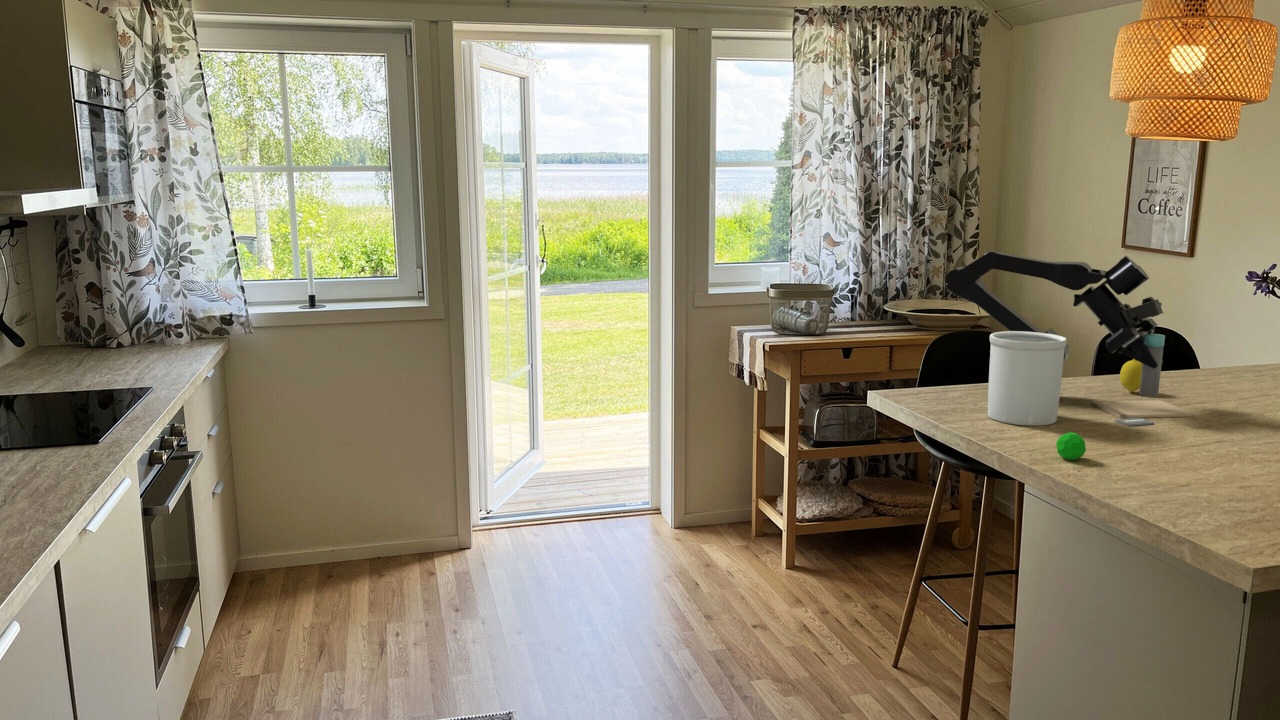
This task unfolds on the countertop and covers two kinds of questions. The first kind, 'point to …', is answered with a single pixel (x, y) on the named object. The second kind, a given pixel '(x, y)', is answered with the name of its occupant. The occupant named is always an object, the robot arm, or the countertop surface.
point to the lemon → (1131, 375)
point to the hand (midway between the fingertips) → (1158, 365)
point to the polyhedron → (1071, 446)
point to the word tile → (1134, 421)
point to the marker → (1151, 375)
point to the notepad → (1141, 409)
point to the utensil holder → (1025, 377)
